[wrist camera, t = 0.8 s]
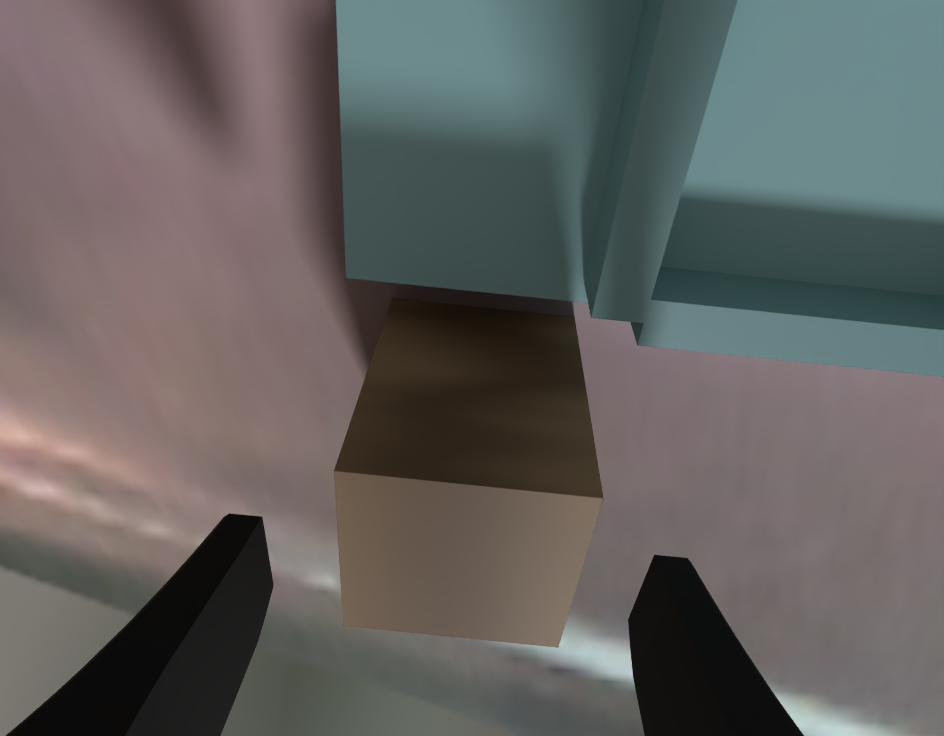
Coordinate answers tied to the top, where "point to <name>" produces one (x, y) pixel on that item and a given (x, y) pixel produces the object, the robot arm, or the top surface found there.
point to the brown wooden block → (468, 476)
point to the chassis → (660, 165)
